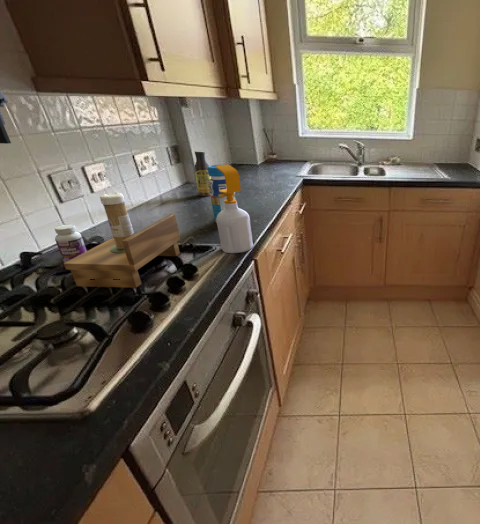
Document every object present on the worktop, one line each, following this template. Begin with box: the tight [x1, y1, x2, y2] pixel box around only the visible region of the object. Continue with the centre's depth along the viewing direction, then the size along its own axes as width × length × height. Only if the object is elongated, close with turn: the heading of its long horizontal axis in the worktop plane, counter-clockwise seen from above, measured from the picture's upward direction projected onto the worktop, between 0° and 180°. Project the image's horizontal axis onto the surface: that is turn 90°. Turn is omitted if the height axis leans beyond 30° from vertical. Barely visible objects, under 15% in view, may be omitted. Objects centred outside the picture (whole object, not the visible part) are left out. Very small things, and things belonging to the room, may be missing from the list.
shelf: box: [63, 213, 181, 289], centre depth 85 cm, size 16×20×12 cm
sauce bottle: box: [194, 150, 211, 197], centre depth 152 cm, size 6×6×20 cm
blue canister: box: [207, 164, 236, 224], centre depth 119 cm, size 8×8×20 cm
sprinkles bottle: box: [99, 192, 135, 249], centre depth 82 cm, size 5×5×14 cm
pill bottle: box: [54, 224, 88, 263], centre depth 88 cm, size 5×5×10 cm
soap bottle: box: [216, 164, 254, 254], centre depth 96 cm, size 9×9×25 cm
